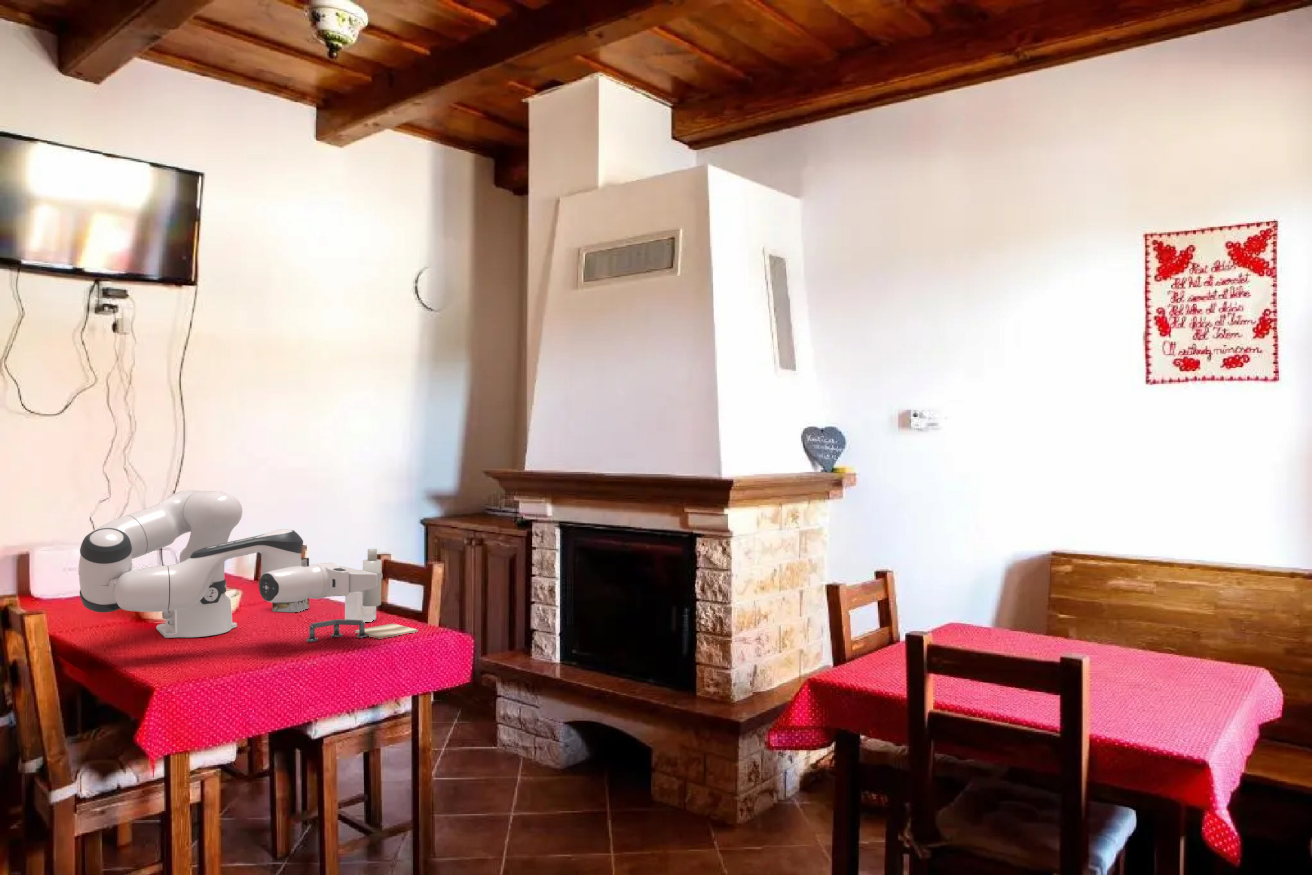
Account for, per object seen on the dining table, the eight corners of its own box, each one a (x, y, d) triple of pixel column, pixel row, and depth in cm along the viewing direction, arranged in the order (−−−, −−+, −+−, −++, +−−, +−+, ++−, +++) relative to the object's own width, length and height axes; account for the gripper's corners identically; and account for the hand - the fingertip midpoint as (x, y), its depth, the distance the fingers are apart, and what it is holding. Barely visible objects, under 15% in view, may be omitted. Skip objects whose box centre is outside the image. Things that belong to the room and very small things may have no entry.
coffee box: (310, 609, 277) (310, 557, 277) (297, 613, 271) (297, 560, 271) (284, 607, 279) (284, 556, 279) (271, 611, 273) (271, 559, 273)
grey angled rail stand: (304, 641, 235) (304, 623, 235) (351, 632, 245) (352, 615, 245) (321, 646, 229) (321, 628, 229) (369, 637, 240) (369, 620, 240)
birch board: (355, 633, 244) (355, 630, 244) (393, 626, 254) (393, 623, 254) (379, 639, 237) (379, 636, 237) (417, 632, 246) (417, 629, 246)
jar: (348, 625, 254) (348, 583, 254) (341, 620, 261) (341, 579, 261) (380, 621, 259) (380, 580, 259) (372, 617, 266) (372, 577, 266)
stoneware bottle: (358, 604, 240) (359, 549, 240) (375, 602, 244) (375, 547, 244) (368, 607, 237) (368, 551, 237) (384, 604, 241) (384, 549, 241)
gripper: (307, 587, 238) (355, 581, 248) (346, 597, 224) (395, 590, 234) (308, 563, 238) (355, 558, 248) (346, 572, 224) (395, 566, 234)
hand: (375, 574), depth 241 cm, fingers closed on stoneware bottle, 5 cm apart
